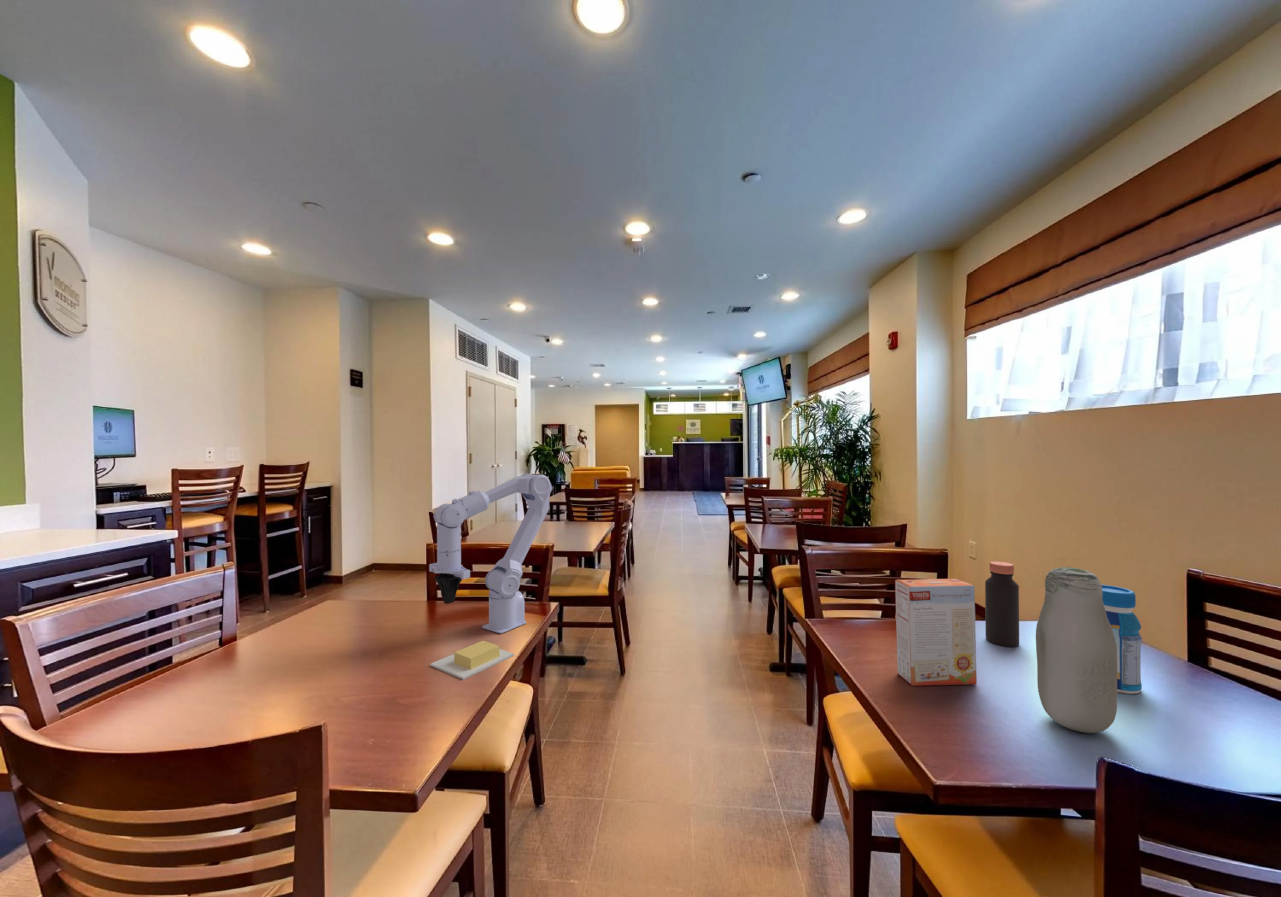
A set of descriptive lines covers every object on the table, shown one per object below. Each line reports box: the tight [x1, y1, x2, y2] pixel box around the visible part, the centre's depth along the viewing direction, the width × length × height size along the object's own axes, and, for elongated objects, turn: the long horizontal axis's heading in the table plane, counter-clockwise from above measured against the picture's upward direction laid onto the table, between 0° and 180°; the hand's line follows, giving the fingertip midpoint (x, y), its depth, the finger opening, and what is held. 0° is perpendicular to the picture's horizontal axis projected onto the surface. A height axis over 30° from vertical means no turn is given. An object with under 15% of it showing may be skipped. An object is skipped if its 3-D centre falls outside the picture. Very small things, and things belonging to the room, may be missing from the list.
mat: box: [430, 648, 515, 681], centre depth 109 cm, size 14×12×1 cm
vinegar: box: [984, 561, 1020, 648], centre depth 119 cm, size 7×7×20 cm
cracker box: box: [894, 578, 978, 687], centre depth 99 cm, size 14×6×21 cm, turn 91°
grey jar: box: [1035, 566, 1118, 734], centre depth 82 cm, size 10×10×28 cm
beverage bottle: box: [1101, 584, 1143, 695], centre depth 97 cm, size 8×8×20 cm
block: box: [453, 640, 501, 669], centre depth 109 cm, size 8×2×6 cm
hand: (449, 602), depth 121 cm, fingers closed
